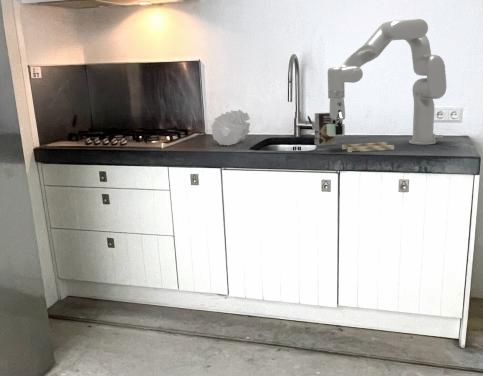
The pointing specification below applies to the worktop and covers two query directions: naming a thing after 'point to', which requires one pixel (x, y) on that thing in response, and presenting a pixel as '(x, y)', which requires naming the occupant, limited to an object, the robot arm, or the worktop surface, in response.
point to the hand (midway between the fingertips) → (336, 133)
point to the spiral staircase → (230, 127)
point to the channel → (368, 147)
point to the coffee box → (323, 130)
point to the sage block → (333, 130)
